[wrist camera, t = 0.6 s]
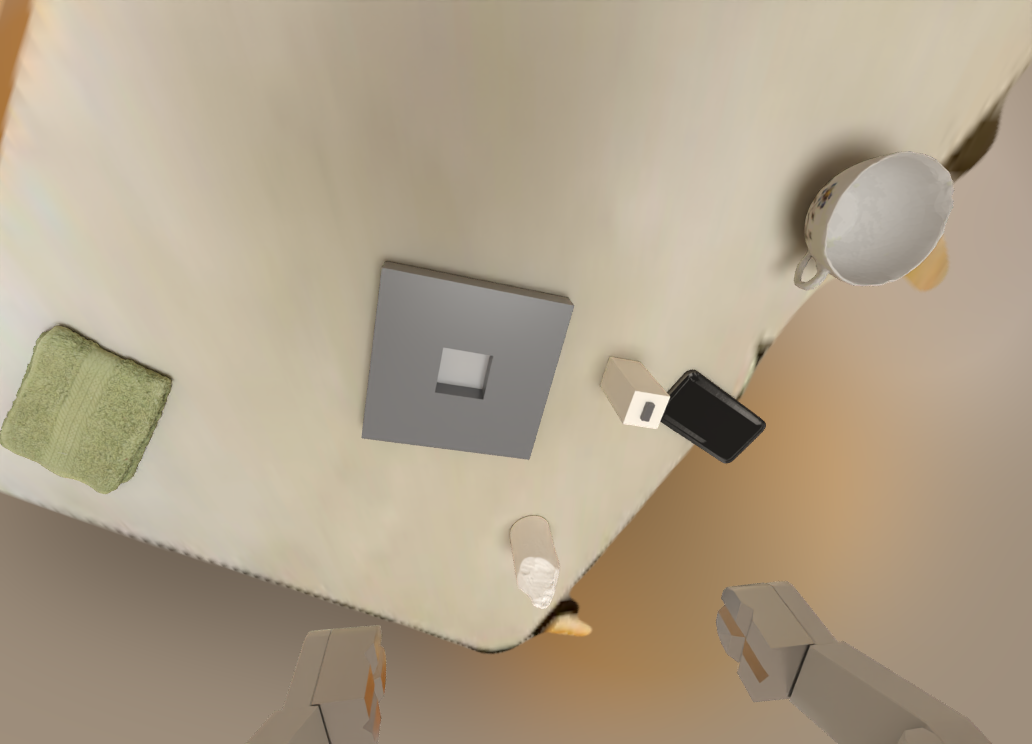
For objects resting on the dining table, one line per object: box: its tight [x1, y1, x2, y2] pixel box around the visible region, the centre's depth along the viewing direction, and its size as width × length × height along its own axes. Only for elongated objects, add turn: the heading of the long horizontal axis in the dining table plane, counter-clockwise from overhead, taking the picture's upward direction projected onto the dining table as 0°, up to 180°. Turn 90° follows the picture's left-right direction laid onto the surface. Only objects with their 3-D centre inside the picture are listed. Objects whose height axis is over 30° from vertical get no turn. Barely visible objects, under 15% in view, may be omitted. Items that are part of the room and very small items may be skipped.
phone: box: [660, 370, 766, 463], centre depth 62 cm, size 8×1×15 cm
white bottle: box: [510, 515, 560, 609], centre depth 62 cm, size 6×12×6 cm
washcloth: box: [0, 326, 171, 494], centre depth 51 cm, size 13×18×3 cm
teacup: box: [794, 151, 954, 291], centre depth 49 cm, size 15×12×8 cm
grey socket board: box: [362, 261, 574, 460], centre depth 54 cm, size 20×20×3 cm
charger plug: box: [600, 357, 670, 429], centre depth 54 cm, size 4×4×10 cm
